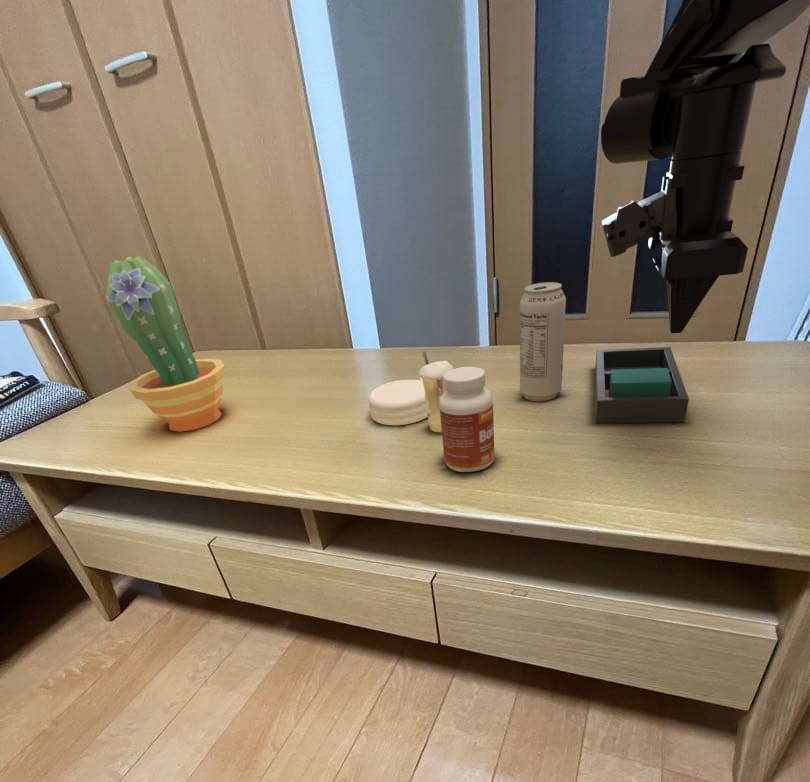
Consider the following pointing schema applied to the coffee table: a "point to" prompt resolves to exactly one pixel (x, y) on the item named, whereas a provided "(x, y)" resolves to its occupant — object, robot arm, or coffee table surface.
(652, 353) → the pad holder
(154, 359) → the potted cactus
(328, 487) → the coffee table surface
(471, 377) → the pill bottle
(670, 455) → the coffee table surface
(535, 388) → the energy drink can
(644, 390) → the green rectangular block
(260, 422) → the coffee table surface
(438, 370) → the milkshake
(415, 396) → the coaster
